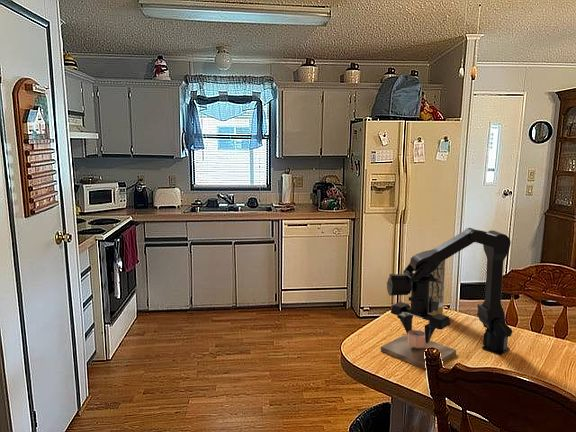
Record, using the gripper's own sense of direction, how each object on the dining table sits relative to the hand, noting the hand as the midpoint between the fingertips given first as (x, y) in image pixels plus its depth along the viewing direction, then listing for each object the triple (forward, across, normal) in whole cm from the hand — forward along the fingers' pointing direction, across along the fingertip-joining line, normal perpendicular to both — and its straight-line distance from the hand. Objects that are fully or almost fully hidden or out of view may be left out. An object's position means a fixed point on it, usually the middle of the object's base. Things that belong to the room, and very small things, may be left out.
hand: (418, 339), depth 146 cm
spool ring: (+1, 0, 0) cm, 1 cm away
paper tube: (+5, +14, -33) cm, 36 cm away
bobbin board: (+4, 0, 0) cm, 4 cm away
